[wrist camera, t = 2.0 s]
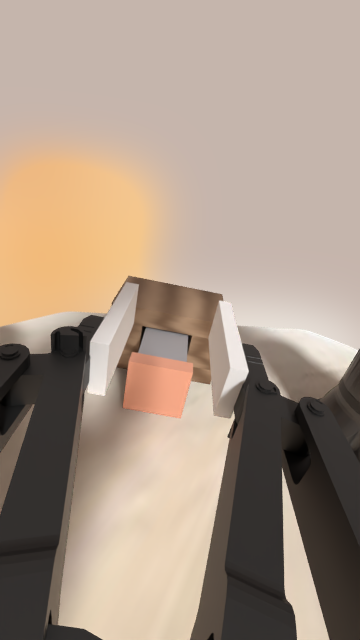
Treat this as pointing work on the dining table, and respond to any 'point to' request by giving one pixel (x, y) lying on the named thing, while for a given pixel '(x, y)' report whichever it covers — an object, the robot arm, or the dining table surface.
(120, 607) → the dining table surface
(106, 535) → the dining table surface
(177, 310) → the block
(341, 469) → the robot arm
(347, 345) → the dining table surface
